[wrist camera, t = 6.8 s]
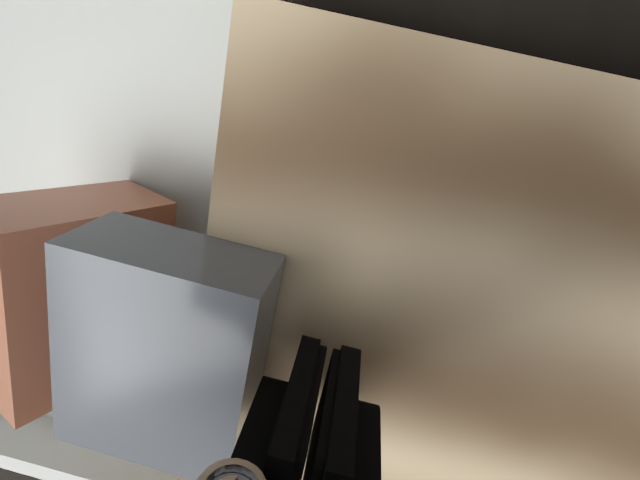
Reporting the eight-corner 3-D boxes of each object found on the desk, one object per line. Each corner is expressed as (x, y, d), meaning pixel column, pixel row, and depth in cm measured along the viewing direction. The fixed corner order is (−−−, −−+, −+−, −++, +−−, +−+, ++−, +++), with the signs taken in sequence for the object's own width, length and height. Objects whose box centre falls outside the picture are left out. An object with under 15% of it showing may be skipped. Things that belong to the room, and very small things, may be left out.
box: (-107, -116, 13) (-241, -171, 10) (270, -34, 12) (238, -69, 10) (-34, 391, 21) (-98, 439, 18) (201, 456, 20) (172, 516, 17)
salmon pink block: (176, 202, 13) (128, 179, 15) (-4, 234, 9) (-52, 199, 10) (164, 351, 16) (123, 321, 17) (15, 430, 12) (-26, 384, 13)
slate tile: (113, 210, 12) (44, 242, 9) (286, 255, 11) (260, 300, 9) (110, 379, 14) (53, 438, 11) (253, 420, 13) (226, 490, 11)
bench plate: (275, 17, 13) (234, -11, 9) (733, 119, 12) (888, 134, 8) (212, 438, 20) (173, 522, 16) (505, 518, 19) (537, 625, 15)
